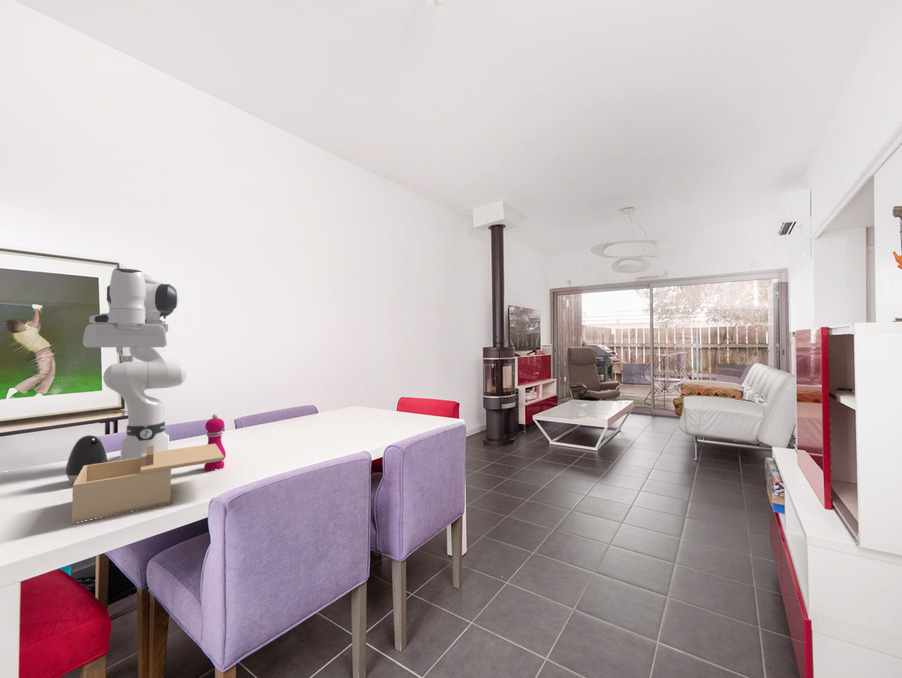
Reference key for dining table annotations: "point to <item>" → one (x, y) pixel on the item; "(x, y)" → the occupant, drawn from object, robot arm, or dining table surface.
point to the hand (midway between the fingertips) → (126, 361)
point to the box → (118, 489)
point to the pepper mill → (215, 440)
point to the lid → (179, 457)
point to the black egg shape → (85, 455)
